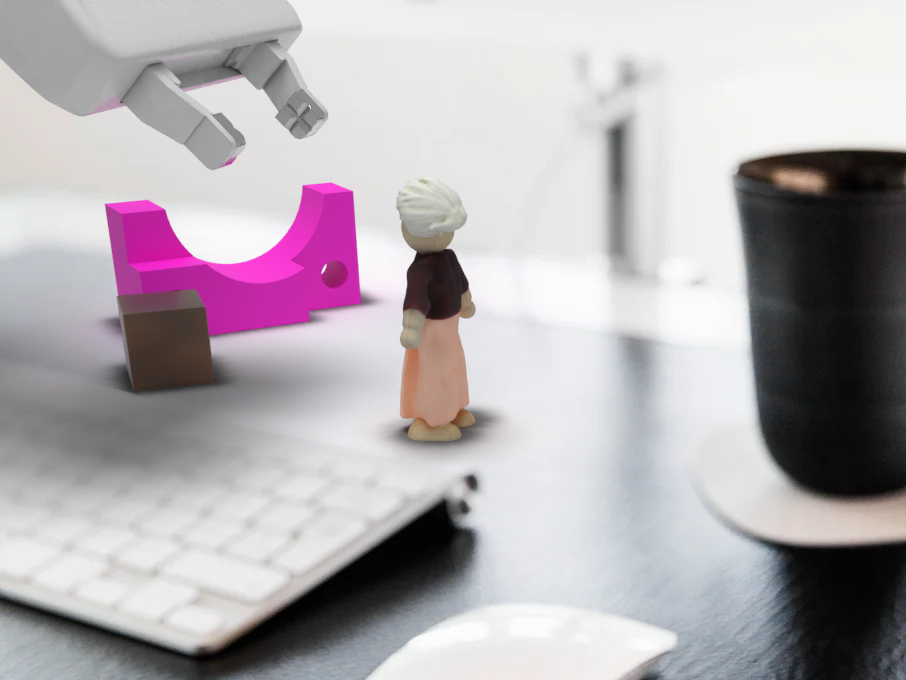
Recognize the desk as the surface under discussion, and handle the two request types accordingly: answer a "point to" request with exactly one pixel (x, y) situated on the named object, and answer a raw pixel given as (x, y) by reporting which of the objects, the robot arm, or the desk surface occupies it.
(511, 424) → the desk surface
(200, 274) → the toy block
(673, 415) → the desk surface
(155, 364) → the walnut cube
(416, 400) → the grandmother figurine
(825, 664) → the desk surface
